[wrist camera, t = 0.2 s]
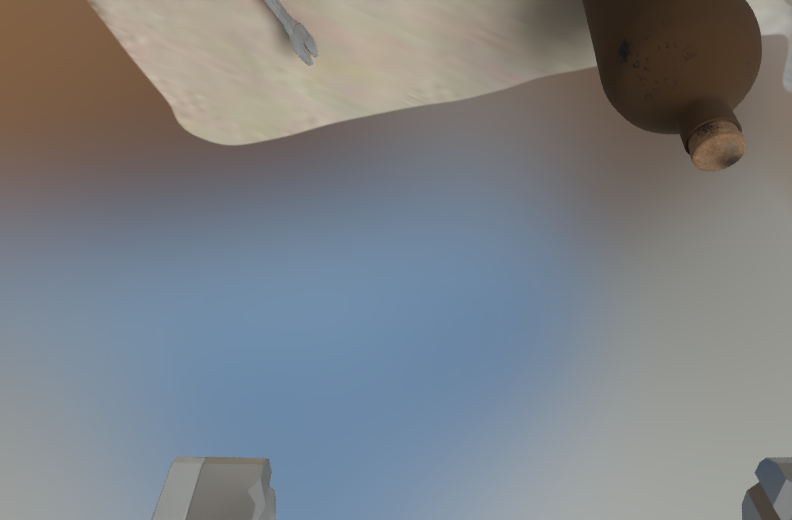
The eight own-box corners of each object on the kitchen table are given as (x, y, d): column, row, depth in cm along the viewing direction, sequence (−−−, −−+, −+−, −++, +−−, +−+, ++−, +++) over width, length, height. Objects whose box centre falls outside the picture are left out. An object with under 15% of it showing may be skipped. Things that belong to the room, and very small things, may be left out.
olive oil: (564, 17, 62) (623, 220, 46) (568, -101, 53) (641, 97, 38) (684, -1, 60) (786, 202, 45) (707, -125, 52) (841, 70, 37)
